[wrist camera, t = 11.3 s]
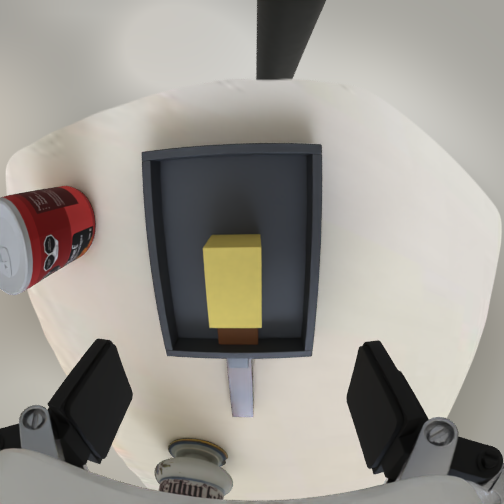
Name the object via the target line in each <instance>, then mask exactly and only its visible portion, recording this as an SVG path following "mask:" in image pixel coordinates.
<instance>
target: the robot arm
mask: <svg viewBox="0 0 504 504" xmlns="http://www.w3.org/2000/svg"><path fill="white" fill-rule="evenodd" d="M132 397H133V393H132V389H131V387H130V384H129V382H128V379H127V377H126V374H125V371H124V368H123V366H122V363H121V360H120V357H119V354H118V351H117V348H116V346H115V345H114V344H113V343H112V342H111V341H110V340H105V339H96V340H95V342H94V343H93V344H92V345H91V347H90V348H89V349H88V350H87V352H86V353H85V354H84V355H83V357H82V358H81V359H80V361H79V362H78V363H77V365H76V366H75V367H74V368H73V370H72V371H71V372H70V374H69V375H68V376H67V378H66V379H65V380H64V382H63V383H62V385H61V386H60V387H59V389H58V390H57V391H56V393H55V394H54V396H53V397H52V398H51V400H50V401H49V403H48V406H49V408H48V410H47V409H46V408H45V407H43V406H40V405H33V406H30V407H28V408H26V409H25V410H24V411H23V412H22V413H21V416H20V418H19V424H16V425H12V426H8V427H5V428H1V429H0V504H504V463H503V457H502V454H501V453H500V451H499V450H498V449H497V448H495V447H493V446H489V445H485V444H482V443H478V442H475V441H471V440H468V439H465V438H461V437H458V429H457V427H456V425H455V424H454V423H453V422H452V421H450V420H449V419H446V418H443V417H435V418H432V419H428V417H427V415H426V414H425V412H424V410H423V408H422V406H421V405H420V403H419V401H418V399H417V398H416V396H415V394H414V392H413V391H412V389H411V387H410V386H409V384H408V382H407V380H406V379H405V377H404V375H403V374H402V373H401V371H399V370H397V368H396V366H395V365H394V363H393V361H392V360H391V358H390V356H389V355H388V353H387V351H386V350H385V348H384V347H383V345H382V343H381V342H380V341H370V342H365V343H364V344H363V346H360V347H359V350H358V354H357V358H356V363H355V367H354V371H353V374H352V378H351V382H350V386H349V389H348V393H347V404H348V407H349V410H350V413H351V416H352V419H353V422H354V425H355V429H356V432H357V435H358V438H359V441H360V445H361V448H362V451H363V454H364V458H365V461H366V465H367V467H368V468H369V469H371V468H372V470H373V474H378V473H381V472H384V474H385V477H386V480H385V482H384V484H383V485H378V486H374V487H370V488H366V489H361V490H356V491H351V492H346V493H340V494H333V495H327V496H320V497H312V498H302V499H290V500H270V501H242V500H221V499H209V498H200V497H192V496H184V495H178V494H172V493H167V492H161V491H156V490H152V489H147V488H142V487H139V486H135V485H131V484H127V483H124V482H120V481H117V480H113V479H110V478H107V477H104V476H101V475H98V474H95V473H92V472H90V471H89V470H88V467H87V465H86V463H87V460H89V461H92V462H95V463H98V464H100V463H101V461H102V459H104V458H105V457H106V456H107V454H108V452H109V449H110V447H111V445H112V442H113V440H114V438H115V436H116V433H117V431H118V429H119V426H120V424H121V422H122V420H123V418H124V415H125V413H126V411H127V409H128V407H129V405H130V402H131V400H132Z"/></svg>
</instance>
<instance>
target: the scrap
mask: <svg viewBox="0 0 504 504" xmlns="http://www.w3.org/2000/svg"><path fill="white" fill-rule="evenodd" d="M217 331H218V342H219V344H221V345H258V328H217Z"/></svg>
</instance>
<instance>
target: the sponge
mask: <svg viewBox="0 0 504 504" xmlns="http://www.w3.org/2000/svg"><path fill="white" fill-rule="evenodd" d="M203 259H204V272H205V285H206V296H207V307H208V318H209V327H210V328H262V262H261V237H260V234H236V235H211V237H210V238H209V240H208V241H207V243H206V244H205V246H204V247H203Z"/></svg>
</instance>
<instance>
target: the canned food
mask: <svg viewBox="0 0 504 504" xmlns="http://www.w3.org/2000/svg"><path fill="white" fill-rule="evenodd" d="M94 234H95V216H94V212H93V209H92V206H91V204H90V202H89V200H88V199H87V197H86V196H85V195H84V194H83V193H82V192H80V191H79V190H77V189H75V188H73V187H70V186H61V187H54V188H48V189H41V190H35V191H30V192H24V193H19V194H14V195H9V196H5V197H1V198H0V289H1V290H3V291H4V292H6V293H7V294H10V295H16V294H19V293H21V292H23V291H25V290H26V289H28V288H30V287H32V286H33V285H35V284H36V283H38V282H39V281H41V280H43V279H44V278H46V277H47V276H49V275H51V274H52V273H54V272H55V271H57V270H59V269H60V268H62V267H64V266H65V265H67V264H69V263H70V262H72V261H74V260H76V259H77V258H79V257H81V256H82V255H83V254H84V253H85V252H86V251H87V250H88V248H89V247H90V245H91V243H92V241H93V238H94Z"/></svg>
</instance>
